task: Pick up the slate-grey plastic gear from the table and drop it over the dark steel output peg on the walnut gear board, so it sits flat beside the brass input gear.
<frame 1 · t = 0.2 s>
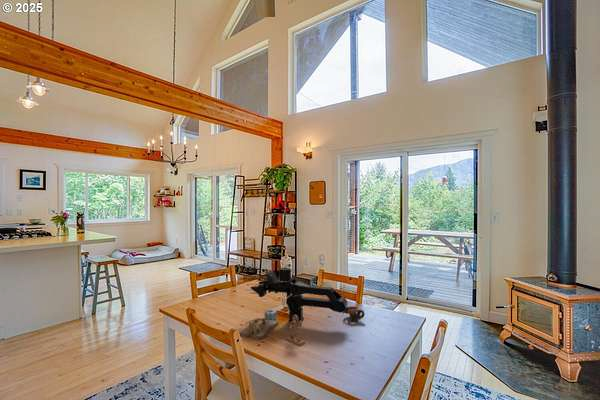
hand: (254, 285, 163), 16 cm above the table, tool horizontal, fingers open, 9 cm apart
loose gear: (270, 318, 156), on the table
pottery mug: (353, 320, 154), on the table
gingerbread man figurine: (295, 341, 131), on the table
gear board: (260, 329, 143), on the table
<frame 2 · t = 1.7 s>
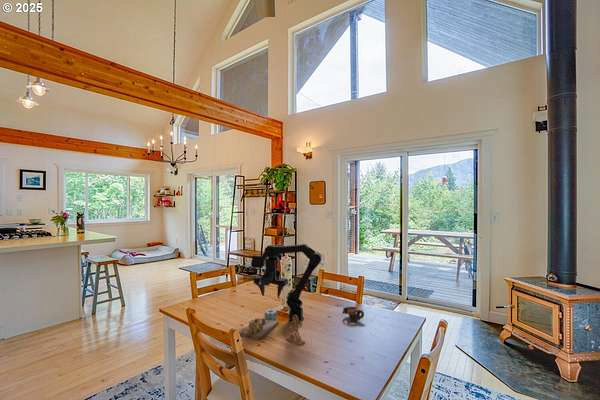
hand: (270, 296, 156), 12 cm above the table, tool pointing down, fingers open, 9 cm apart
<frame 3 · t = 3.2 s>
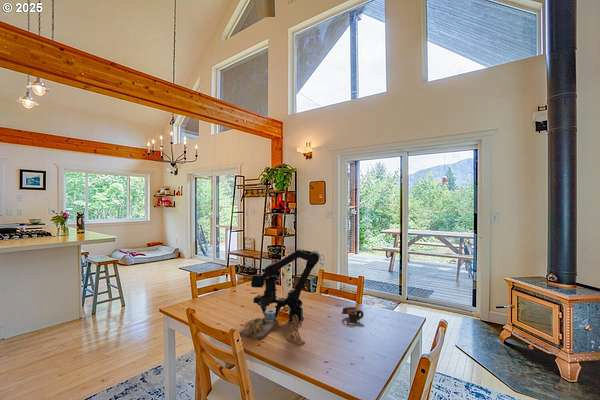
hand: (270, 316, 156), 1 cm above the table, tool pointing down, fingers closed on loose gear, 7 cm apart
loose gear: (270, 318, 156), on the table, touching gripper
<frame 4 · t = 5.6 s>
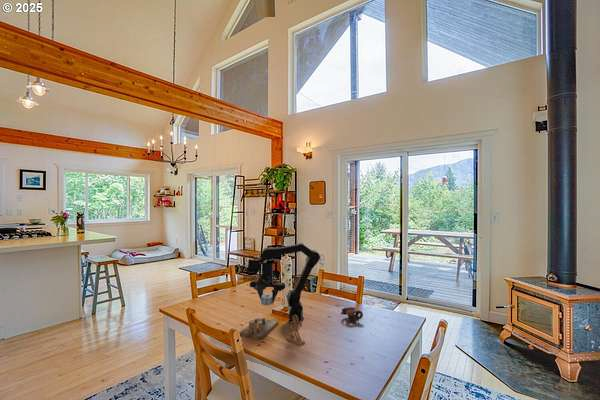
hand: (267, 301, 152), 11 cm above the table, tool pointing down, fingers closed on loose gear, 7 cm apart
loose gear: (267, 303, 152), point 10 cm above the table, touching gripper
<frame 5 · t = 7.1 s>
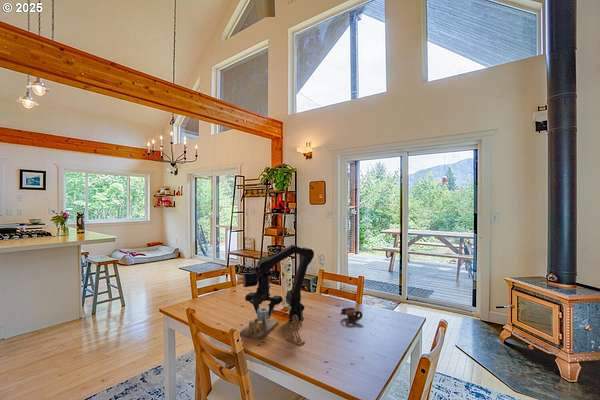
hand: (263, 315, 147), 6 cm above the table, tool pointing down, fingers closed on loose gear, 7 cm apart
loose gear: (263, 317, 147), point 5 cm above the table, touching gripper
when the fingers open (4 cm above the table, at t = 8.2 s): loose gear stays where it is, resting on gear board.
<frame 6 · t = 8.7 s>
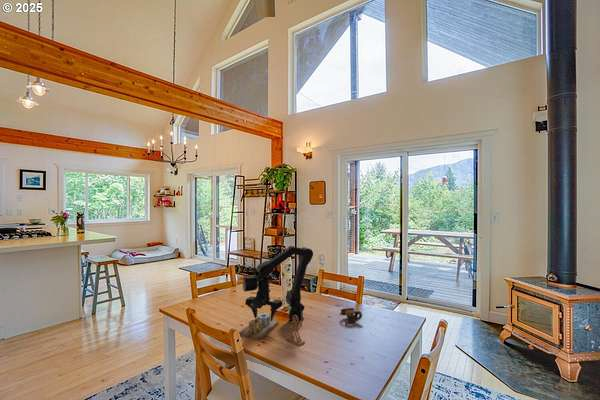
hand: (263, 319, 147), 4 cm above the table, tool pointing down, fingers open, 9 cm apart
loose gear: (263, 323, 146), point 1 cm above the table, touching gear board
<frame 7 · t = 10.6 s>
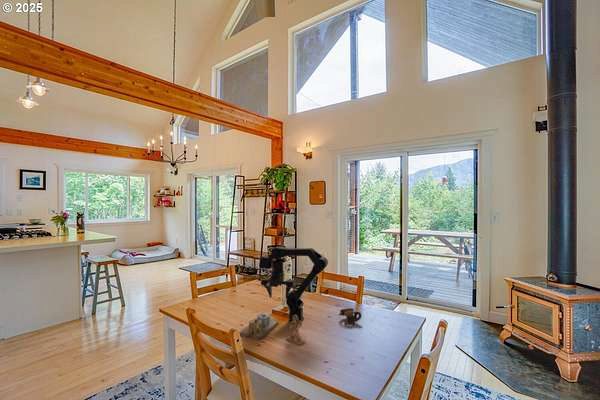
hand: (278, 298, 157), 11 cm above the table, tool pointing down, fingers open, 9 cm apart
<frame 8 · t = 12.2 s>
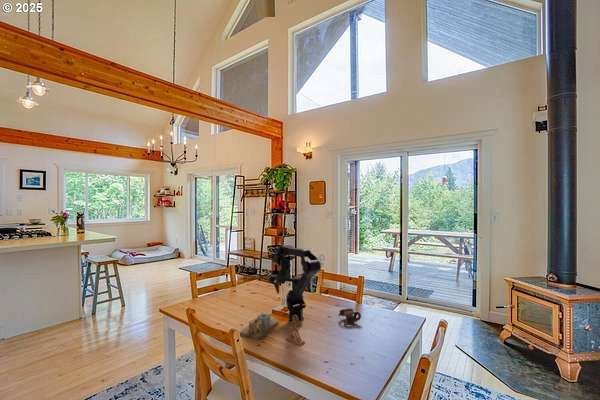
hand: (285, 294, 163), 11 cm above the table, tool pointing down, fingers open, 9 cm apart
at the end: loose gear 0.0 cm from the target spot on the gear board, point 1.5 cm above the gear board's base; loose gear tilted 0°; the gripper is holding nothing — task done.
